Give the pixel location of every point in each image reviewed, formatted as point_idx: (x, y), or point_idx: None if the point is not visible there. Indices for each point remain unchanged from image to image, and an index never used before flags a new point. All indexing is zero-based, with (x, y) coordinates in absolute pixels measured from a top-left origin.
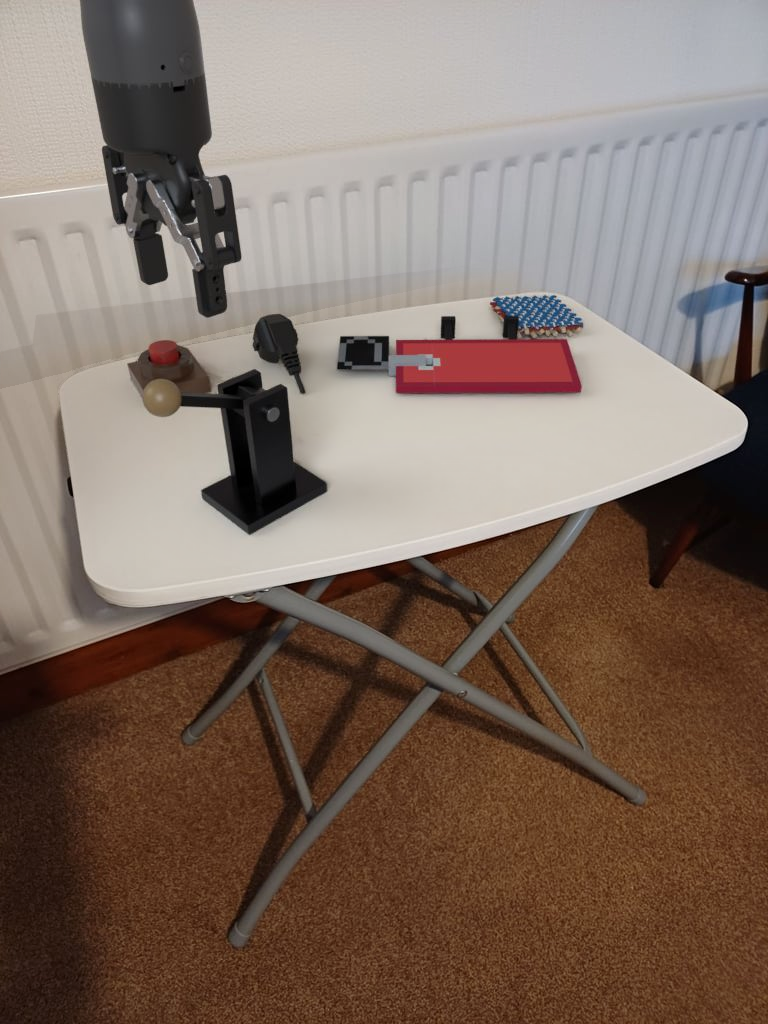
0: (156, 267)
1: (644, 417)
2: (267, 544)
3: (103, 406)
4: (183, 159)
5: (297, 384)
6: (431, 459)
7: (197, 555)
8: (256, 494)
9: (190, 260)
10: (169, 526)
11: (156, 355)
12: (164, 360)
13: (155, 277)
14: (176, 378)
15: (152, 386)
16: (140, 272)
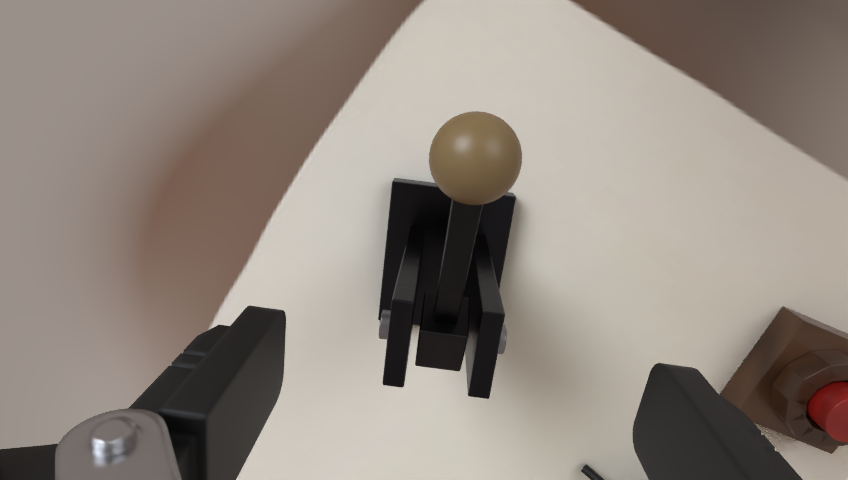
0: (664, 445)
1: None
2: (360, 180)
3: None
4: None
5: (598, 475)
6: (323, 441)
7: (420, 99)
8: (419, 231)
9: (166, 446)
10: (505, 117)
11: (845, 394)
12: (824, 395)
13: (651, 408)
14: (778, 378)
15: (477, 143)
16: (702, 387)
